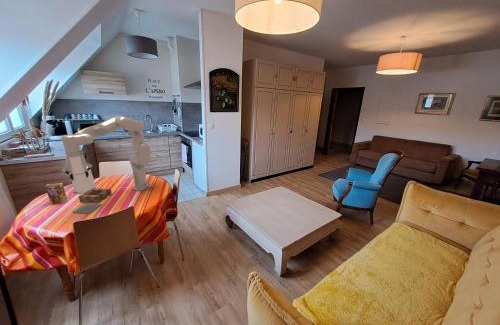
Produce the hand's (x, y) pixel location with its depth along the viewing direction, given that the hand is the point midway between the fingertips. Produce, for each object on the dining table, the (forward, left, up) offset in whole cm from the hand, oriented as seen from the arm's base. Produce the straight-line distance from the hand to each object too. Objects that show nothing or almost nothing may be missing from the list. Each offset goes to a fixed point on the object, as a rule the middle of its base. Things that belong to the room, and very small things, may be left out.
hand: (80, 178), depth 137 cm
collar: (+6, -16, -24) cm, 30 cm away
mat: (0, 0, -24) cm, 24 cm away
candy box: (+28, -7, -24) cm, 38 cm away
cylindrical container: (0, 0, -9) cm, 9 cm away
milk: (+26, -29, -24) cm, 46 cm away
